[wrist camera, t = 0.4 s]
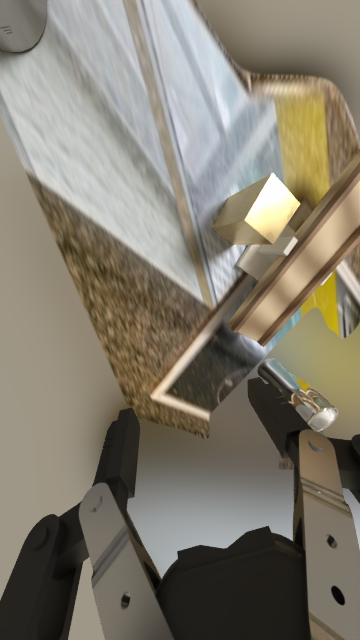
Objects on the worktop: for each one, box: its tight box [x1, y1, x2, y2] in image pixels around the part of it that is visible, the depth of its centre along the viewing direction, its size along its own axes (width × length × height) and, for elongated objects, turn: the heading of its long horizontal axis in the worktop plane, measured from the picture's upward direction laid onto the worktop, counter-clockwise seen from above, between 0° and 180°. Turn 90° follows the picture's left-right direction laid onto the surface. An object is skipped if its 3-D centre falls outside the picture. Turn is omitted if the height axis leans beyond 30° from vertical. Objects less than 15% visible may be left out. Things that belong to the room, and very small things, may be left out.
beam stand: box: [236, 224, 332, 286], centre depth 29 cm, size 10×14×7 cm
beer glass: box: [258, 358, 338, 432], centre depth 37 cm, size 7×7×15 cm
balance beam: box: [227, 150, 360, 347], centre depth 27 cm, size 30×8×3 cm, turn 150°
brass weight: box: [212, 173, 300, 245], centre depth 24 cm, size 5×5×10 cm
